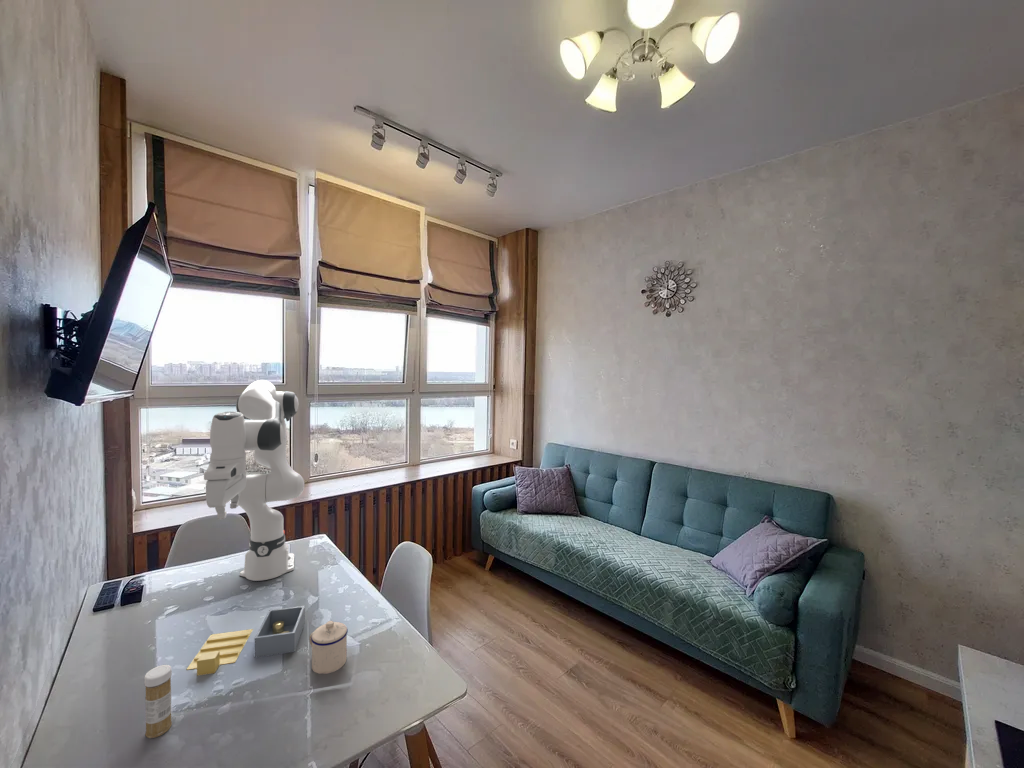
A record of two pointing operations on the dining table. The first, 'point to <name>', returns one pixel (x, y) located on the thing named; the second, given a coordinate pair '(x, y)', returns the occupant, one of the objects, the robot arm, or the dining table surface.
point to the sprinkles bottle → (158, 701)
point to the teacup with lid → (329, 647)
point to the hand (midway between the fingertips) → (228, 512)
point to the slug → (278, 627)
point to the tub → (284, 641)
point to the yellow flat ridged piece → (219, 651)
